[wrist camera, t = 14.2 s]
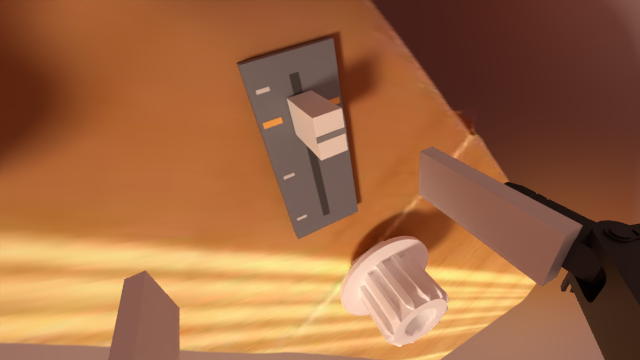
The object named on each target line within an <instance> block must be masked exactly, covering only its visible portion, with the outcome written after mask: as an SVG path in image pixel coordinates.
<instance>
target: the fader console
mask: <svg viewBox="0 0 640 360" xmlns="http://www.w3.org/2000/svg"><path fill="white" fill-rule="evenodd" d="M237 65H238V68H239V71H240V74H241V77H242V80H243V83H244V86H245V89H246V91H247V94H248V97H249V100H250V103H251V106H252V109H253V112H254V115H255V118H256V121H257V124H258V126H259V129H260V132H261V135H262V138H263V141H264V144H265V147H266V150H267V153H268V156H269V158H270V161H271V164H272V167H273V170H274V173H275V176H276V179H277V182H278V185H279V188H280V191H281V193H282V196H283V199H284V202H285V205H286V208H287V211H288V214H289V217H290V220H291V223H292V225H293V228H294V231H295V234H296V236H297V238H298V239H300V238H302V237H304V236H306V235H308V234H310V233H313V232H315V231H317V230H319V229H321V228H323V227H325V226H328V225H330V224H332V223H334V222H336V221H338V220H341V219H343V218H345V217H347V216H349V215H351V214H353V213H356V212H358V207H357V200H356V193H355V186H354V179H353V172H352V165H351V158H350V151H349V144H348V137H347V130H346V133H345V134H346V141H347V147H348V150H347V151H344V152H342V153H339V154H337V155H334V156H332V157H329V158H327V159H324V160H322V161H321V160H320V159H319V158H318V157H317V156H316V155H315V153H314V152H313V151H312V150H311V149H310V148H309V147H308V146H307V145H306V144H305V143H304V142H303V141H302V140H301V139H300V138H299V137H298V136H297V135H296V132H295V128H294V125H293V121H292V117H291V113H290V109H289V106H288V102H287V98H289V97H292V96H295V95H298V94H301V93H304V92H307V91H310V90H312V91H313V92H315V93H317V94H318V95H320V96H322V97H324V98H325V99H327V100H329V101H331V102H332V103H334V104H336V105H337V106H339V107H341V108H342V113H343V120H344V127H345V128H346V123H345V116H344V109H343V102H342V96H341V89H340V82H339V75H338V68H337V61H336V54H335V47H334V40H333V38H329V37H326V38H323V39H319V40H316V41H312V42H309V43H305V44H302V45H298V46H295V47H291V48H288V49H284V50H281V51H277V52H274V53H270V54H267V55H263V56H260V57H256V58H253V59H249V60H246V61H242V62H239V63H237Z"/></svg>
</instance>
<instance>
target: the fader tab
mask: <svg viewBox="0 0 640 360" xmlns="http://www.w3.org/2000/svg"><path fill="white" fill-rule="evenodd" d="M287 102H288V106H289V109H290V113H291V117H292V121H293V125H294V128H295V132H296V135H297V136H298V137H299V138H300V139H301V140H302V141H303V142H304V143H305V144H306V145H307V146H308V147H309V148H310V149H311V150H312V151H313V152H314V153H315V155H316V156H317V157H318V158H319V159H320V160H321V161H322V160H324V159H327V158H329V157H332V156H334V155H337V154H339V153H342V152H344V151H347V150H348V147H347V141H346V134H345V133H346V128H345V127H344V120H343V113H342V108H341V107H339V106H337V105H336V104H334V103H332V102H331V101H329V100H327V99H325V98H324V97H322V96H320V95H318V94H317V93H315V92H313V91H312V90H310V91H307V92H304V93H301V94H298V95H295V96H292V97H289V98H287Z"/></svg>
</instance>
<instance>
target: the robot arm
mask: <svg viewBox="0 0 640 360" xmlns="http://www.w3.org/2000/svg"><path fill="white" fill-rule="evenodd" d="M419 195H421V196H422V197H423V198H425V199H426V200H427V201H428V202H430V203H431V204H432V205H434V206H435V207H436V208H438V209H439V210H440V211H442V212H443V213H444V214H446V215H447V216H448V217H450V218H451V219H452V220H454V221H455V222H456V223H458V224H459V225H460V226H462V227H463V228H464V229H466V230H467V231H468V232H470V233H471V234H472V235H474V236H475V237H476V238H478V239H479V240H480V241H482V242H483V243H484V244H486V245H487V246H488V247H490V248H491V249H492V250H494V251H495V252H496V253H498V254H499V255H500V256H502V257H503V258H504V259H506V260H507V261H508V262H510V263H511V264H512V265H514V266H515V267H516V268H518V269H519V270H520V271H522V272H523V273H524V274H526V275H527V276H528V277H530V278H531V279H532V280H534V281H535V282H536V283H538V284H539V285H540V286H543V285H545V284H546V283H548V282H549V281H551V280H553V279H554V278H556V276H557V275H558V273H559V271H560V269H561V267H563V268H564V269H566V270H567V271H568V273H567V275H566V277H565V279H564V280H563V282H562V284H561V291H566V289H567V287H568V285H569V284H570V285H571V290H570V292H572V293H575V295H576V298H577V300H578V302H579V304H580V306H581V309H582V311H583V313H584V315H585V317H586V319H587V322H588V324H589V326H590V328H591V331H592V333H593V335H594V337H595V339H596V341H597V344H598V346H599V348H600V350H601V352H602V355H603V357H604V359H605V360H640V224H635V225H627V224H624V223H621V222H617V221H610V220H607V221H599V222H594V221H592V220H590V219H588V218H586V217H584V216H581V215H580V214H578V213H576V212H574V211H571V210H570V209H567V208H566V207H564V206H562V205H560V204H558V203H556V202H554V201H552V200H547V198H546V197H544V196H542V195H540V194H536V193H535V192H534V191H532V190H530V189H528V188H526V187H524V186H521V185H517V184H514V183H510V182H506V183H504V184H503V183H501V182H499V181H497V180H495V179H493V178H491V177H490V176H488V175H486V174H484V173H482V172H480V171H478V170H476V169H474V168H472V167H470V166H469V165H467V164H465V163H463V162H461V161H459V160H457V159H455V158H453V157H451V156H449V155H448V154H446V153H444V152H442V151H440V150H438V149H436V148H434V147H430V148H428V149H425V150H423V151H421V152H420V169H419ZM108 360H179V307H178V306H177V305H176V304H175V303H174V302H173V301H172V299H171V298H170V297H169V296H168V295H167V294H166V293H165V292H164V290H163V289H162V288H161V287H160V286H159V285H158V284H157V283H156V282H155V280H154V279H153V278H152V277H151V276H150V275H149V274H148V273H147V272H146V270H145V271H143V272H141V273H138V274H136V275H134V276H132V277H129V278H127V279H125V280H124V285H123V290H122V295H121V300H120V305H119V310H118V315H117V319H116V324H115V329H114V334H113V339H112V344H111V349H110V354H109V359H108Z"/></svg>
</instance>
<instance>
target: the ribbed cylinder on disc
mask: <svg viewBox="0 0 640 360" xmlns="http://www.w3.org/2000/svg"><path fill="white" fill-rule="evenodd" d="M427 262H428V251H427V248H426V246H425V245H424V244H423V243H422V242H421V241H420V240H419V239H417V238H415V237H412V236H399V237H394V238H391V239H388V240H386V241H383V240H382V241H380V242H378V243H377V244H375V245H374V246H373V247H371V248H370V249H369V250H367V251H366V252H364V253H363V254H362V255H360V256H359V257H358V258H356V259H355V260H353V262H352V265H353V266H352V267H351V269H350V270H349V271H348V273H347V275H346V276H345V278H344V280H343V283H342V285H341V289H340V299H341V302H342V304H343V306H344V308H345V309H346V310H347V311H348V312H349V313H351V314H353V315H359V316H363V315H370V316H371V317H372V319H373V320H374V322H375V323H376V325H377V327H378V328H379V330H380V331H381V333H382V334H383V336H384V338H385V339H386V340H387V342H388V343H390V344H394V345H396V346H399V347H401V346H402V345H405V344H409V343H414V341H416V340H417V339H419V338H421V337H422V336H424V335H425V334H427V333H428V332H429V331H430V330H431V329H432V328H433V327H434V326H435V325H436V324H437V323H440V320H441V318H442V317H443V315H444V313H445V312H446V311H447V310H448V307H447V302H449V298H448V295H447V293H446V292H445V291H444V290H443V289H442V288H441V287H440V286H439V285H438V284H437V283H436V282H435V281H434V280H433V279H432V278H431V277H430V275H429V274H428V273H427V272H426V271H425V268H426V265H427Z"/></svg>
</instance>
